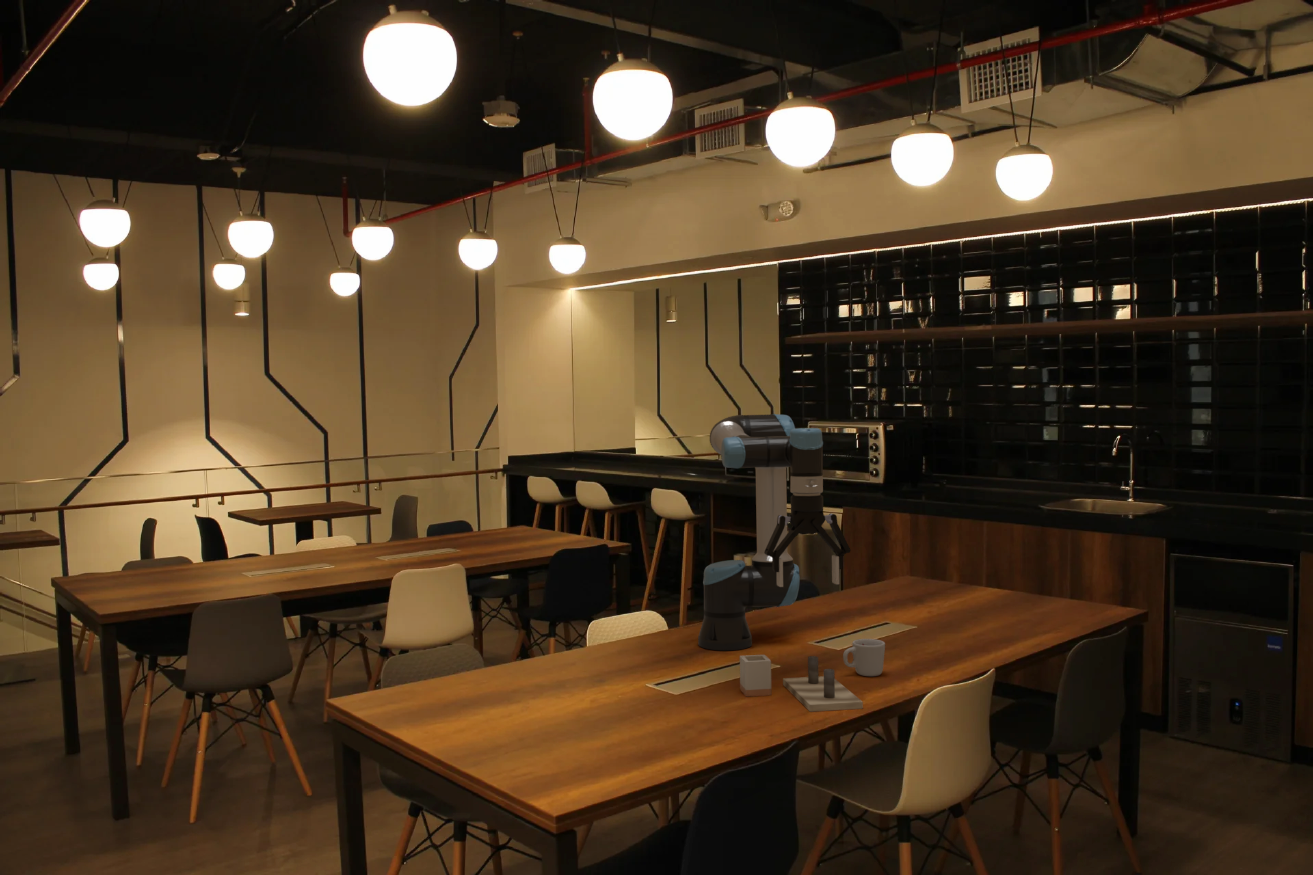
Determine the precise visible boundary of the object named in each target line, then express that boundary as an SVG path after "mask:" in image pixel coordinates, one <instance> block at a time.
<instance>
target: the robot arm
mask: <svg viewBox="0 0 1313 875" xmlns="http://www.w3.org/2000/svg"><path fill="white" fill-rule="evenodd" d="M709 443H710V446H711V448H712V449H713V450H714V451H715V452H716V453H717V454H719V455H720V456H721V462H722V465H723V467H724V468H729V469H730V468H731V469H746V468H747V469H749V468H754V470H755V505H756V508H755V509H756V513H755V514H756V516H755V517H756V553H755V554H754V556H752V557H751V564H750V565H749V564H748V565H746V563H745V560H741V559H736V560H735V559H731V560H722V561H717V562H713V563H710V564H709V565H707V566H706V567H705V568H704V569H703V570H704V571H703V581H702V584H703V619H702V624H701V626H700V630H699V633H698V640H697V642H698V643H697V644H698V646H699V647H700V648H703V649H706V650H713V651H714V650H715V651H738V650H744V649H748V648H750V647H751V646H752V645H753V637H752V636H753V635H752V634H751V630H750V627H749V624H748V621H747V618H746V608H759V607H760V608H761V607H762V608H763V607H764V608H765V607H776V608H777V607H778V608H779V607H787V606H792V605H793V604H794V603H795V602H796V600H797V597H798V595H799V589H800V580H801V577H800V567H799V565H797V563H796V564H795V563H794V558H793V557H792V556H791V555H790V554H789V552H788V547H789V546H790V544H791V543H792V542H793V541H794V539H796V537H797V536H799V534H800V535H808V534H810V535H816V534H818V535H819V536H820V537H821V539H822V540H823V541H824V542H825V544H826V545H827V546H828V547H829V548H830V550H832V551H833V553H834V554H832V555H831V581H832V582H831V583H832V584H834V585H840V570H843V568H844V565H843V564H844V563H843V562H844V560H843V558H844V557H845V555H846V554H849V553H851V551H852V550H851V548H850V546H849V544H848V542H847V540H846V538H845V536H844V533H843V532H842V530H841V528H840V525H839V524H838V523H839V522H838V518H837V515H836V514H834V513H831V512H830V513H829V514H826V515H825V514H824V496H823V495H822V493H824V492H823V491H824V487H823V486H824V480H823V478H824V474H823V473H824V470H823V469H824V468H823V465H824V464H823V463H824V462H823V460H824V459H823V445H824V441H823V432H822V430H821V429H820V428H815V427H814V428H813V427H812V428H807V427H806V428H805V427H804V428H802V427H801V428H796V426H795V424H794V421H793V420H792V417H790V416H789V415H787V414H778V413H777V414H775V413H772V414H744V415H743V414H737V415H731V416H728V417H724V418H723V419H721V420H719V421H718V422H716V423H715V424H714V425H713V427H712V428H711V430H710V432H709ZM787 468H790V493H792V495H791V496H790V514H789V516H788V507H787V504H788V503H787V496H788V494H787ZM825 521H826V523H827V524H829V526H830V528H831V531H832V532H833V534H834V536H835V539H836V540H837V542H835V541H834V540H833V539H832V537H831V536H830V535H829V534H828V533H827V531H826V530H825V529H824V527H823V525H824V523H825ZM789 523H790V524H791V527H790V529H789V530H788V524H789ZM837 543H838V544H839V546H840V547H839V546H838V544H837Z"/></svg>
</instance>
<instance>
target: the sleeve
mask: <svg viewBox="0 0 1313 875" xmlns="http://www.w3.org/2000/svg"><path fill="white" fill-rule="evenodd" d="M739 689H740V691H741V692H742V693H743V695H744V696H745V697H759V696H760V697H762V696H763V697H764V696H765V697H766V696H772V661H771V659H770V658H769V657H768V656H767V655H765V654H755V655H754V654H752V655H739Z"/></svg>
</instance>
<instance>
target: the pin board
mask: <svg viewBox="0 0 1313 875" xmlns="http://www.w3.org/2000/svg"><path fill="white" fill-rule="evenodd" d="M782 685H783V686H784V687H785V688H786V689H787V690H788V691H789V692H790V693H791V694H792V695H793V696H794V697H795V699H797V701H799V702H800V703H801V704H802V705H803V706H804V707H805V708H806V709H807V710H808V711H809V712H825V711H826V712H827V711H843V710H845V711H846V710H847V711H848V710H862V709H864V707H863V706H864V705H863V704H864V702H863V701H862V700H861V698H859V697H858V696H856V695H855V694H854V693H853V692H852V691H850V690H849V689H848V688H847V687H845V686H844V685H843V684H842V683H841V682H839V680H837V679H836V678H835V669H833V668H832V669H831V668H826V669H825V668H824V669H823V676H819V656H815V655H813V656H812V655H811V656H807V676H805V677H804V676H803V677H801V676H800V677H785V678H782Z"/></svg>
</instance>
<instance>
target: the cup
mask: <svg viewBox="0 0 1313 875" xmlns="http://www.w3.org/2000/svg"><path fill="white" fill-rule="evenodd" d="M851 644H852V646H851V647H849V648H847V649H845V650H844V652H843V655H842V659H843V663H844V665H845V666H846V667H848V668H855V672H856V673H857V675H860V676H864V677H877V676H880V675H881V674H882V673H883V670H884V663H885V662H884V661H885V651H886V650H885V649H886V642H885V641H883V640H881V639H876V638H875V639H873V638H860V639H855V640H853V641H852V643H851ZM850 653H851V654H852V658H853V659H852V661H851V662H849V660H848V656H849V654H850Z"/></svg>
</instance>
